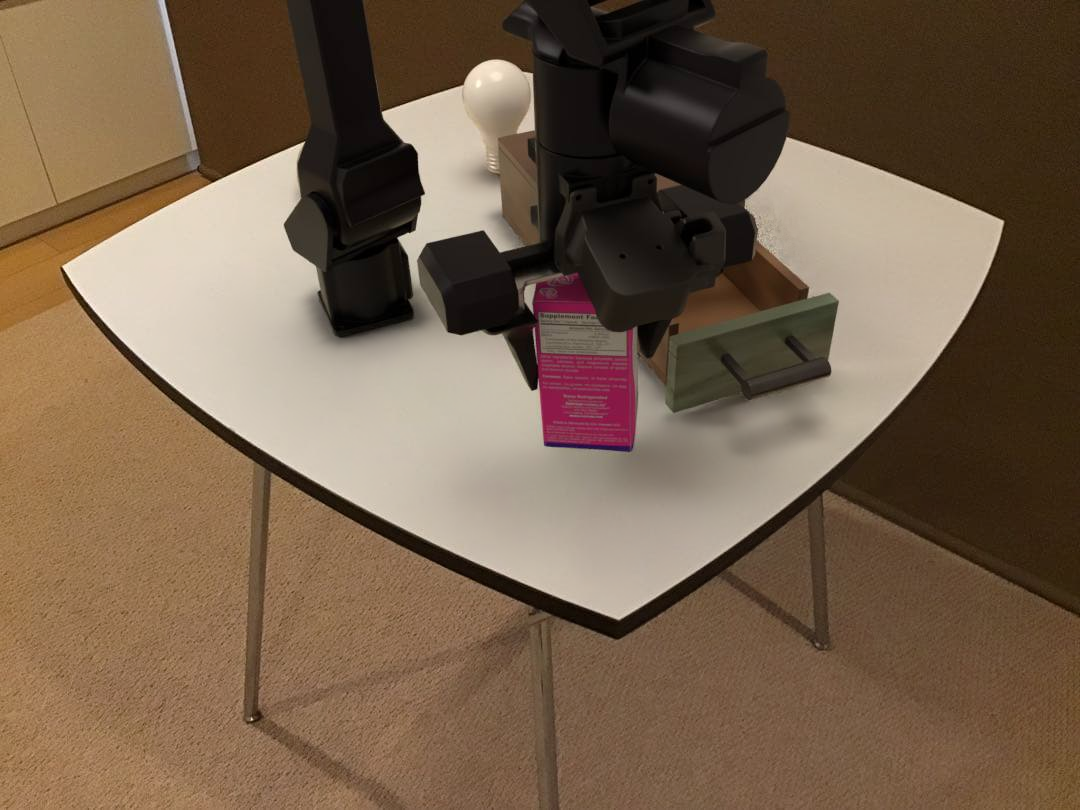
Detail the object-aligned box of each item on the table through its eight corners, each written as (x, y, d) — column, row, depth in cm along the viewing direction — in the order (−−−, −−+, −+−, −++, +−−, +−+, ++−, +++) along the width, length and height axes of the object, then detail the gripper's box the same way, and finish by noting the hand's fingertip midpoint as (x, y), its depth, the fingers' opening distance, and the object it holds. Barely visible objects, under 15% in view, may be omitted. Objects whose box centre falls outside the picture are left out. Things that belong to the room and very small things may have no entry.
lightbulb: (511, 194, 98) (504, 81, 90) (456, 179, 100) (445, 68, 93) (546, 166, 102) (542, 56, 95) (492, 152, 104) (485, 44, 97)
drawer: (863, 402, 71) (878, 334, 68) (703, 452, 68) (710, 383, 64) (707, 251, 87) (712, 188, 83) (571, 285, 84) (570, 222, 80)
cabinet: (737, 282, 85) (746, 199, 80) (585, 323, 81) (584, 238, 76) (636, 184, 98) (639, 108, 93) (502, 215, 95) (497, 137, 90)
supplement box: (550, 389, 69) (544, 242, 62) (639, 395, 69) (644, 246, 61) (538, 449, 65) (530, 298, 58) (633, 455, 64) (637, 303, 57)
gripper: (470, 247, 46) (491, 499, 56) (831, 163, 51) (791, 407, 61) (400, 144, 54) (429, 380, 64) (718, 80, 59) (699, 308, 69)
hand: (589, 370), depth 64 cm, fingers closed on supplement box, 7 cm apart
